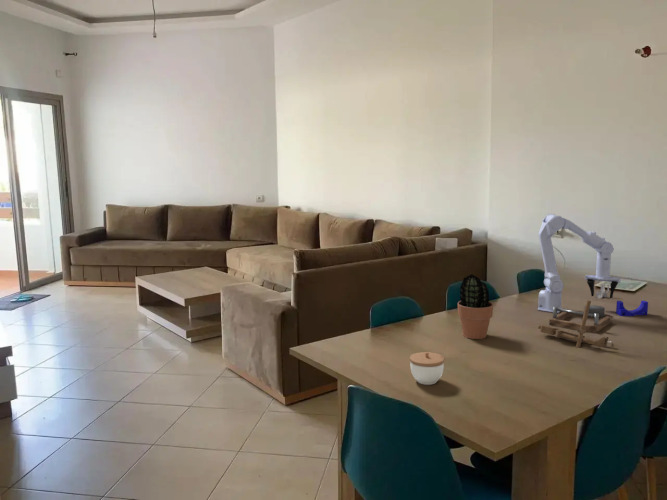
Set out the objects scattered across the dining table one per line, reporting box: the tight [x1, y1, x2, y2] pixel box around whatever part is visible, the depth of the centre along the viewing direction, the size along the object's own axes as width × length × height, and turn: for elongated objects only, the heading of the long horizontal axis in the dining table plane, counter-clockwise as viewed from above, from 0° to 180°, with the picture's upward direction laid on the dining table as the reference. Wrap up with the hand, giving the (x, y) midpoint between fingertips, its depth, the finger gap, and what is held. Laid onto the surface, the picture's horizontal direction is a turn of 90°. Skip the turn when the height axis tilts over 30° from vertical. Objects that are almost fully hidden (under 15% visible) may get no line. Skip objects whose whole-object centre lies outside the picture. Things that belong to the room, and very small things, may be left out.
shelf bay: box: [548, 311, 612, 334], centre depth 232 cm, size 18×20×2 cm
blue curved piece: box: [615, 300, 649, 317], centre depth 244 cm, size 12×4×6 cm, turn 85°
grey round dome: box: [584, 304, 606, 318], centre depth 245 cm, size 8×8×4 cm
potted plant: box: [457, 273, 494, 340], centre depth 218 cm, size 14×14×25 cm
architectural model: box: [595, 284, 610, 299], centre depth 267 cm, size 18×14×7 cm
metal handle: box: [552, 307, 600, 325], centre depth 227 cm, size 18×2×7 cm, turn 47°
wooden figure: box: [537, 300, 612, 349], centre depth 210 cm, size 14×18×25 cm
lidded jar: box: [409, 351, 445, 386], centre depth 174 cm, size 11×11×9 cm
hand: (601, 296), depth 251 cm, fingers open, 7 cm apart
